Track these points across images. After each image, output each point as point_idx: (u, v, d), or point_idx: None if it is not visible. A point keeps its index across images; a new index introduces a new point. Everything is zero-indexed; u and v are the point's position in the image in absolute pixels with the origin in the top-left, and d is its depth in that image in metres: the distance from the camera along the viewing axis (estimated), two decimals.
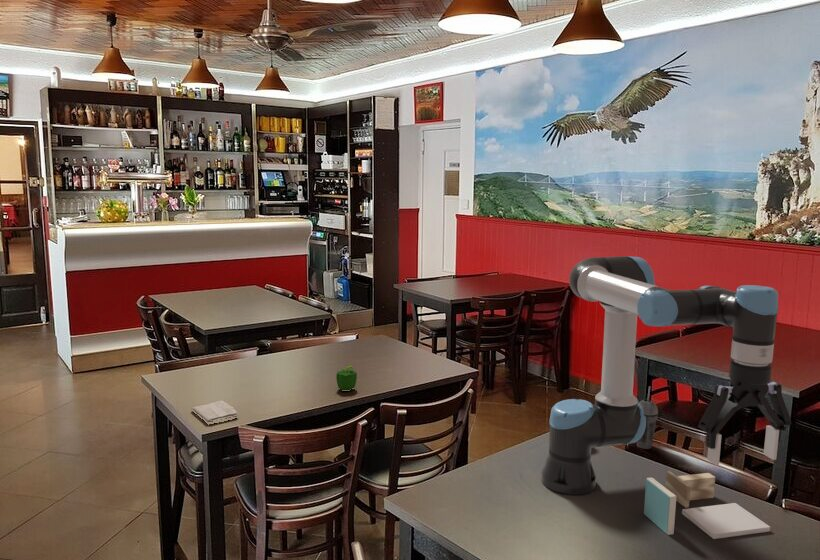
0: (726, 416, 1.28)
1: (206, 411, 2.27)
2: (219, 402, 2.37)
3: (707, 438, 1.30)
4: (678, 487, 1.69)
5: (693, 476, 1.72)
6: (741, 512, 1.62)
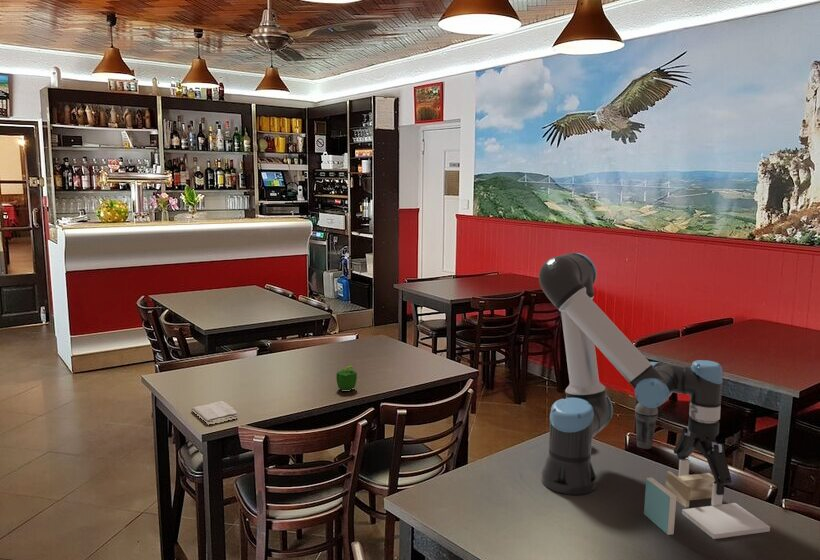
0: (684, 449, 1.76)
1: (206, 411, 2.27)
2: (219, 402, 2.37)
3: None
4: (678, 487, 1.69)
5: (693, 476, 1.71)
6: (741, 512, 1.62)
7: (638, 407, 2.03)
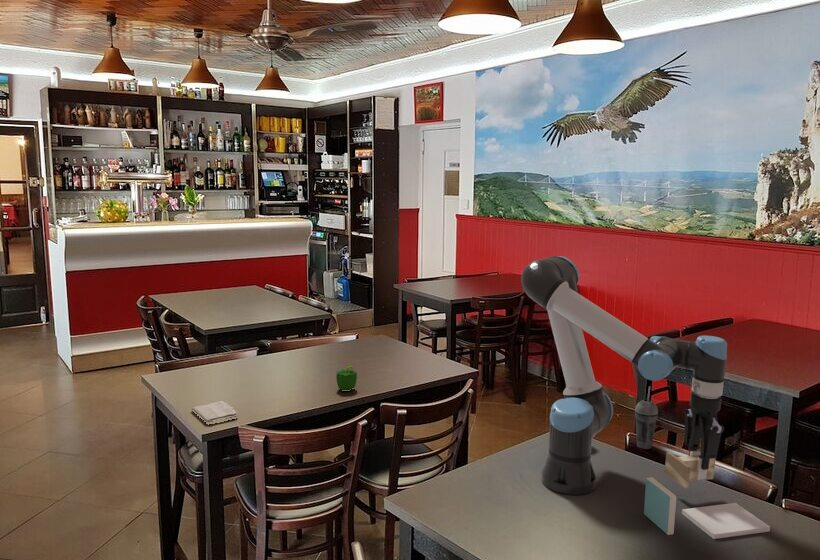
0: (691, 434, 1.72)
1: (206, 411, 2.27)
2: (219, 402, 2.37)
3: None
4: (678, 468, 1.69)
5: (693, 457, 1.71)
6: (741, 512, 1.62)
7: (638, 407, 2.03)
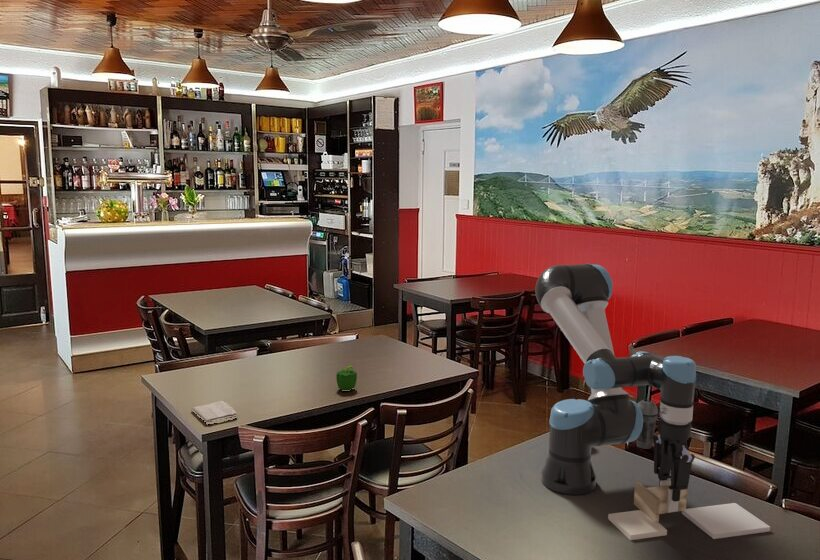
0: (661, 463, 1.59)
1: (205, 411, 2.27)
2: (219, 402, 2.37)
3: None
4: (647, 500, 1.56)
5: (663, 487, 1.58)
6: (741, 512, 1.62)
7: None
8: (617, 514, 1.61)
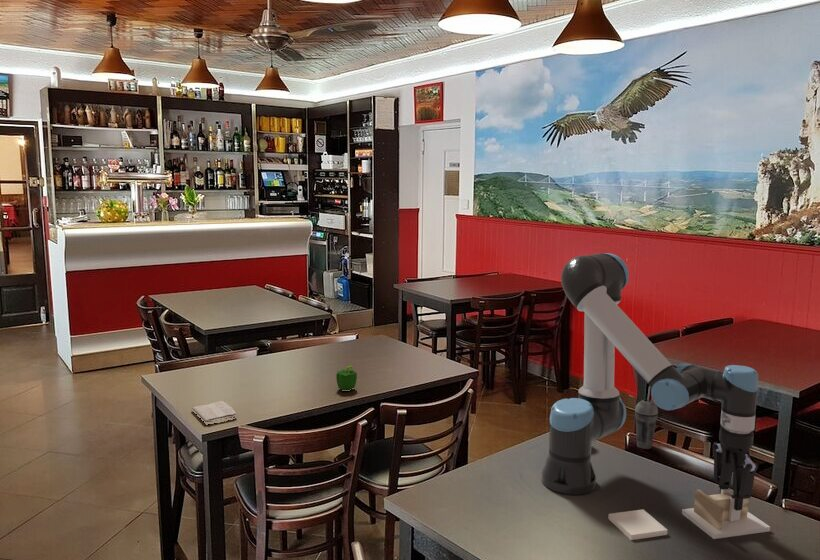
0: (721, 472, 1.60)
1: (205, 411, 2.27)
2: (219, 402, 2.36)
3: None
4: (709, 507, 1.56)
5: (725, 495, 1.58)
6: None
7: (638, 407, 2.03)
8: (617, 514, 1.61)
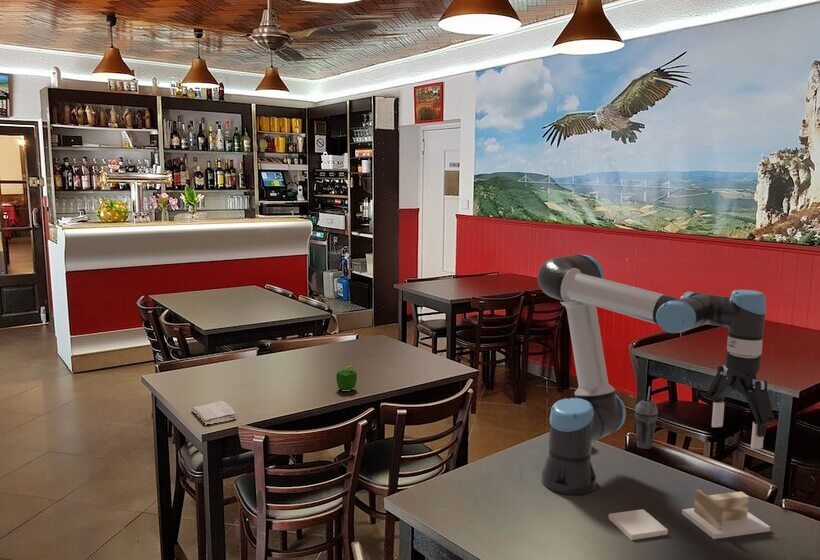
0: (719, 390, 1.60)
1: (205, 411, 2.27)
2: (219, 402, 2.36)
3: None
4: (709, 507, 1.56)
5: (725, 495, 1.58)
6: None
7: (638, 407, 2.03)
8: (617, 514, 1.61)
